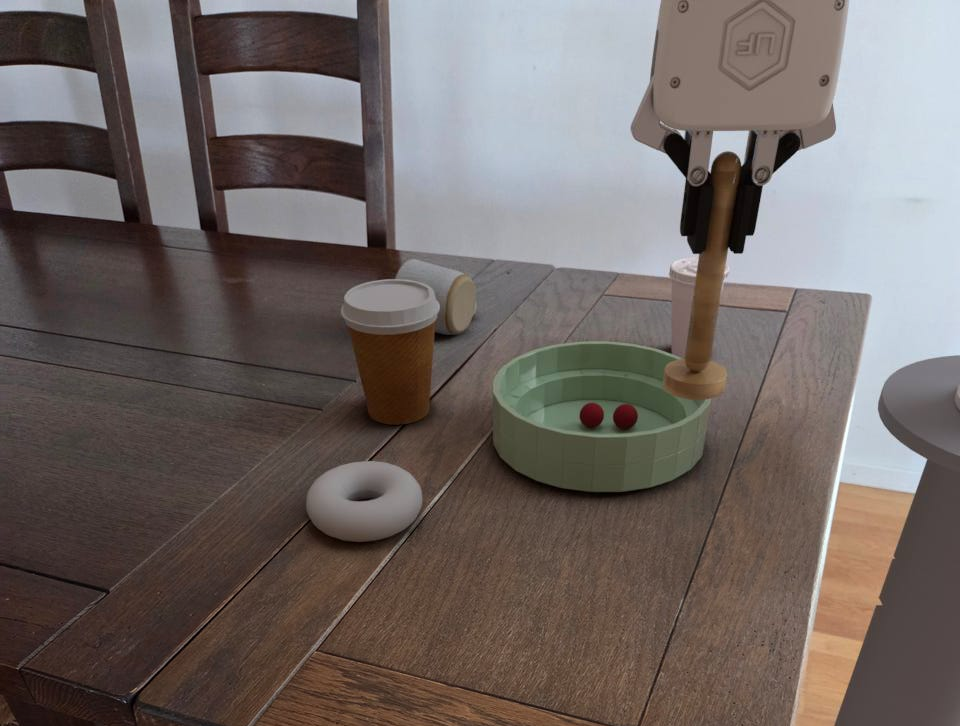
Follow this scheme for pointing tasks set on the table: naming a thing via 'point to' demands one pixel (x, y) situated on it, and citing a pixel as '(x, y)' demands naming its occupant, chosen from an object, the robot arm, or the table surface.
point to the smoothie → (684, 300)
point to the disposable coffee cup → (393, 346)
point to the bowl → (606, 448)
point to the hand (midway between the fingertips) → (714, 245)
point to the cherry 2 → (625, 416)
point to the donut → (364, 520)
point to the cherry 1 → (591, 415)
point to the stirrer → (708, 293)
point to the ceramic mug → (445, 294)
